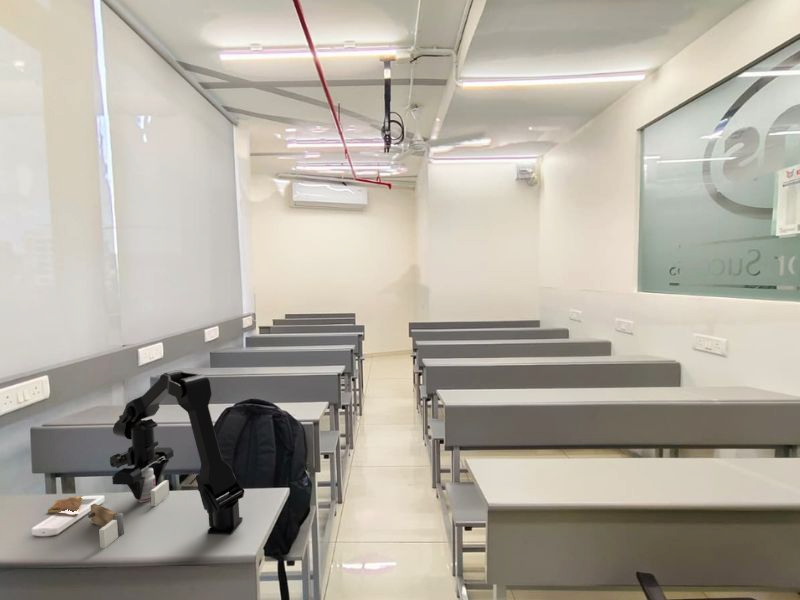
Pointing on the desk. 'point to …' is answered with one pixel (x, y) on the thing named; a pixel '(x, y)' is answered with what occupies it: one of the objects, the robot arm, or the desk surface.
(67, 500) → the shard
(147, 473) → the pill bottle
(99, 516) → the wooden plank
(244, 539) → the desk surface
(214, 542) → the desk surface
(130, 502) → the desk surface
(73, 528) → the desk surface
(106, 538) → the pair of white blocks
